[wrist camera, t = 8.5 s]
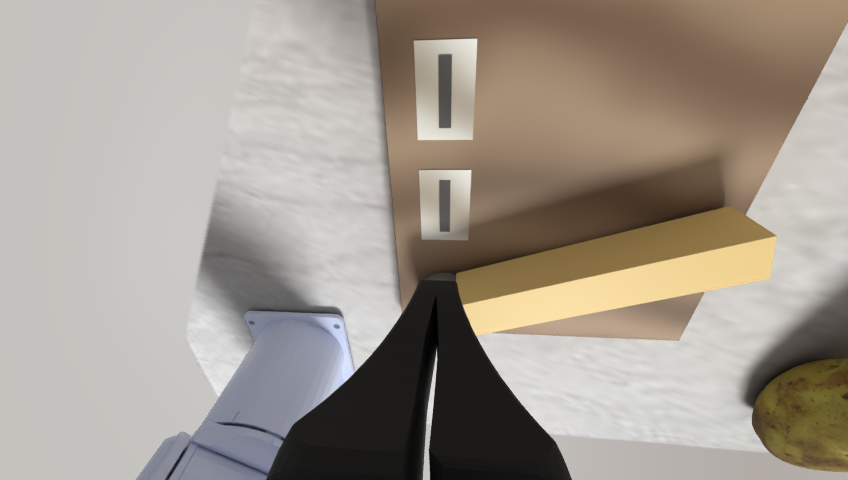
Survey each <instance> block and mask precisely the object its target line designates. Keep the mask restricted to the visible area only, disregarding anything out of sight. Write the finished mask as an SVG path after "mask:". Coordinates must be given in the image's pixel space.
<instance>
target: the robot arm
mask: <svg viewBox="0 0 848 480" xmlns="http://www.w3.org/2000/svg"><path fill="white" fill-rule="evenodd" d="M244 318H245V321H246V323H247V325H248V328H249V330H250V332H251V335H252V337H253V339H254V342H255V343H254V344H253V346H252V347H251V349H250V350H249V352H248V353H247V355H246V356H245V358H244V360H243V361H242V363H241V364H240V366H239V367H238V369H237V370H236V372H235V374H234V375H233V377H232V378H231V380H230V381H229V383H228V384H227V386H226V387H225V389H224V391H223V392H222V394H221V395H220V397H219V398H218V400H217V401H216V403H215V404H214V406H213V408H212V409H211V411H210V412H209V414H208V415H207V417H206V418H205V420H204V421H203V423H202V425H201V426H200V427H199V429H198V430H197V431H196V432H195V433H194V434H193V436H192V437H191V435H189V434H187V433H186V432H180V433H179V434H178V435H177V436H173V437H170V438H167V439H166V440H165V441H164V442H163V443H162V445H161V446H160V447H159V449H158V450H157V451H156V453H155V454H154V455H153V457H152V458H151V459H150V461H149V462H148V464H147V465H146V466H145V468H144V469H143V470H142V472H141V473H140V475H139V476H138V477H137V479H136V480H423V465H424V449H425V448H424V447H425V434H426V419H427V409H428V401H429V394H430V388H431V382H432V375H433V369H434V363H435V356H436V350H437V358H438V360H437V372H436V384H435V395H434V406H433V417H432V427H431V436H430V446H429V460H430V480H572V479H571V477H570V474H569V471H568V468H567V466H566V463H565V461H564V459H563V456H562V454H561V452H560V450H559V448H558V446H557V444H556V442H555V441H554V440H553V439H552V438H551V437H550V435H549V434H548V433H547V432H546V431H545V430H544V429H543V428H542V427H541V426H540V425H539V424H538V423H537V421H536V420H535V419H534V418H533V417H532V416H531V415H530V414H529V412H528V411H527V410H526V409H525V408H524V406H523V405H522V404H521V403H520V402H519V400H518V399H517V398H516V396H515V395H514V394H513V393H512V391H511V390H510V389H509V387H508V386H507V385H506V383H505V382H504V381H503V379H502V378H501V377H500V375H499V374H498V372H497V371H496V369H495V368H494V366H493V365H492V363H491V361H490V360H489V358H488V357H487V355H486V353H485V351H484V350H483V348H482V346H481V344H480V343H479V341H478V339H477V337H476V335H475V333H474V331H473V329H472V327H471V324H470V322H469V320H468V317H467V315H466V313H465V310H464V307H463V305H462V302H461V299H460V295H459V291H458V284H457V283H456V282H455V281H441V280H421V281H419V282H418V285H417V287H416V289H415V292H414V294H413V296H412V298H411V299H410V301H409V303H408V305H407V306H406V308H405V310H404V311H403V313H402V315H401V316H400V318H399V319H398V321H397V322H396V324H395V325H394V327H393V328H392V329H391V331H390V332H389V334H388V335H387V336H386V338H385V339H384V340H383V342H382V343H381V344H380V345H379V347H378V348H377V349H376V350H375V351H374V352H373V354H372V355H371V356H370V357H369V358H368V359H367V360H366V361H365V362H364V363H363V365H362V366H361V367H360V368H359V369H358V370H357V371H356V372H354V367H353V363H352V358H351V353H350V349H349V344H348V340H347V335H346V330H345V326H344V321H343V318H342V317H341V316H340V315H338V314H321V313H295V312H270V311H247V312H246V313H245V315H244ZM336 324H338V325H336ZM190 437H191V438H190Z"/></svg>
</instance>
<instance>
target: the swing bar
mask: <svg viewBox="0 0 848 480" xmlns="http://www.w3.org/2000/svg"><path fill="white" fill-rule="evenodd" d="M776 239H777V236H776V235H775V234H773V233H772V232H770V231H768V230H767V229H765V228H764V227H762V226H761V225H759V224H758V223H756V222H755V221H753V220H752V219H750V218H749V217H747V216H745V215H744V214H742V213H741V212H739V211H738V210H736V209H735V208H733V207H732V206H728V207H724V208H720V209H716V210H712V211H708V212H704V213H699V214H695V215H691V216H687V217H683V218H679V219H675V220H671V221H667V222H663V223H659V224H655V225H651V226H647V227H642V228H638V229H634V230H630V231H626V232H622V233H618V234H614V235H610V236H606V237H602V238H598V239H594V240H590V241H585V242H581V243H577V244H573V245H569V246H565V247H561V248H557V249H553V250H549V251H545V252H541V253H537V254H533V255H528V256H524V257H520V258H516V259H512V260H508V261H504V262H500V263H496V264H492V265H488V266H484V267H480V268H476V269H471V270H467V271H463V272H459V273H456V275H454V274H451V273H436V274H433V275H431V276H429V277H427V278H426V279H425V280H441V281H455V282H456V283H457V284H458V291H459V295H460V299H461V302H462V305H463V307H464V310H465V313H466V315H467V317H468V320H469V322H470V324H471V327H472V329H473V331H474V333H475V335H476V336H477V335H482V334H487V333H492V332H498V331H503V330H508V329H513V328H518V327H523V326H529V325H534V324H539V323H544V322H549V321H555V320H560V319H565V318H570V317H575V316H580V315H586V314H591V313H596V312H601V311H606V310H611V309H617V308H622V307H627V306H632V305H637V304H642V303H648V302H653V301H658V300H663V299H668V298H673V297H679V296H684V295H689V294H694V293H699V292H705V291H710V290H715V289H720V288H725V287H730V286H736V285H741V284H746V283H751V282H756V281H761V280H767V279H770V275H771V269H772V263H773V257H774V251H775V245H776Z"/></svg>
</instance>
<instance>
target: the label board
mask: <svg viewBox="0 0 848 480" xmlns="http://www.w3.org/2000/svg"><path fill="white" fill-rule="evenodd" d="M375 7H376V18H377V30H378V41H379V53H380V64H381V76H382V87H383V99H384V110H385V121H386V133H387V144H388V156H389V167H390V179H391V190H392V202H393V213H394V225H395V236H396V247H397V259H398V270H399V282H400V293H401V305H402V313H403V311H404V310H405V308H406V306H407V305H408V303H409V301H410V299H411V298H412V296H413V294H414V292H415V289H416V287H417V285H418V282H419V281H421V280H425V279H426V278H427V277H429V276H431V275H433V274H436V273H451V274H454V275H456V273H459V272H463V271H467V270H471V269H476V268H480V267H484V266H488V265H492V264H496V263H500V262H504V261H508V260H512V259H516V258H520V257H524V256H528V255H533V254H537V253H541V252H545V251H549V250H553V249H557V248H561V247H565V246H569V245H573V244H577V243H581V242H585V241H590V240H594V239H598V238H602V237H606V236H610V235H614V234H618V233H622V232H626V231H630V230H634V229H638V228H642V227H647V226H651V225H655V224H659V223H663V222H667V221H671V220H675V219H679V218H683V217H687V216H691V215H695V214H699V213H704V212H708V211H712V210H716V209H720V208H724V207H728V206H732V207H733V208H735V209H736V210H738V211H739V212H741V213H742V214H744V215H746V213H747V211H748V209H749V207H750V206H751V204H752V202H753V200H754V198H755V196H756V194H757V192H758V190H759V189H760V187H761V185H762V183H763V181H764V179H765V177H766V175H767V173H768V172H769V170H770V168H771V166H772V164H773V162H774V160H775V158H776V157H777V155H778V153H779V151H780V149H781V147H782V145H783V143H784V141H785V140H786V138H787V136H788V134H789V132H790V130H791V128H792V126H793V124H794V123H795V121H796V119H797V117H798V115H799V113H800V111H801V109H802V107H803V106H804V104H805V102H806V100H807V98H808V96H809V94H810V92H811V90H812V89H813V87H814V85H815V83H816V81H817V79H818V77H819V75H820V74H821V72H822V70H823V68H824V66H825V64H826V62H827V60H828V58H829V57H830V55H831V53H832V51H833V49H834V47H835V45H836V43H837V41H838V40H839V38H840V36H841V34H842V32H843V30H844V28H845V26H846V24H847V23H848V0H375ZM703 294H704V292H699V293H694V294H689V295H684V296H679V297H673V298H668V299H663V300H658V301H653V302H648V303H642V304H637V305H632V306H627V307H622V308H617V309H611V310H606V311H601V312H596V313H591V314H586V315H580V316H575V317H570V318H565V319H560V320H555V321H549V322H544V323H539V324H534V325H529V326H523V327H518V328H513V329H508V330H503V331H498V332H492V333H507V334H531V335H554V336H578V337H601V338H625V339H648V340H672V341H679V339H680V338H681V336H682V334H683V332H684V330H685V328H686V326H687V324H688V322H689V321H690V319H691V317H692V315H693V313H694V311H695V309H696V307H697V305H698V304H699V302H700V300H701V298H702V296H703Z"/></svg>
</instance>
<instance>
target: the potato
mask: <svg viewBox="0 0 848 480" xmlns="http://www.w3.org/2000/svg"><path fill="white" fill-rule="evenodd" d="M752 425H753V428H754V430H755V432H756V434H757V435H758V437H759V438H760V440H761V441H762V443H763V445H764V446H765V448H766V449H767V450H768V451H769V452H770V453H772V454H773V455H774V456H776V457H777V458H779V459H781V460H782V461H785V462H787V463H790V464H792V465H795V466H799V467H803V468H807V469H813V470H822V471H834V472H848V358H843V359H824V360H817V361H812V362H808V363H805V364H801V365H798V366H796V367H793V368H791V369H790V370H788V371H786V372H784V373H782V374H780V375H779V376H777V377H776V378H774V379H773V380H772V381H771V382H770V383H769V384H767V386H766V387H765V388H764V389H763V390H762V391H761V393H760V394H759V395H758V397H757V400H756V403H755V406H754V409H753V414H752Z"/></svg>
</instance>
